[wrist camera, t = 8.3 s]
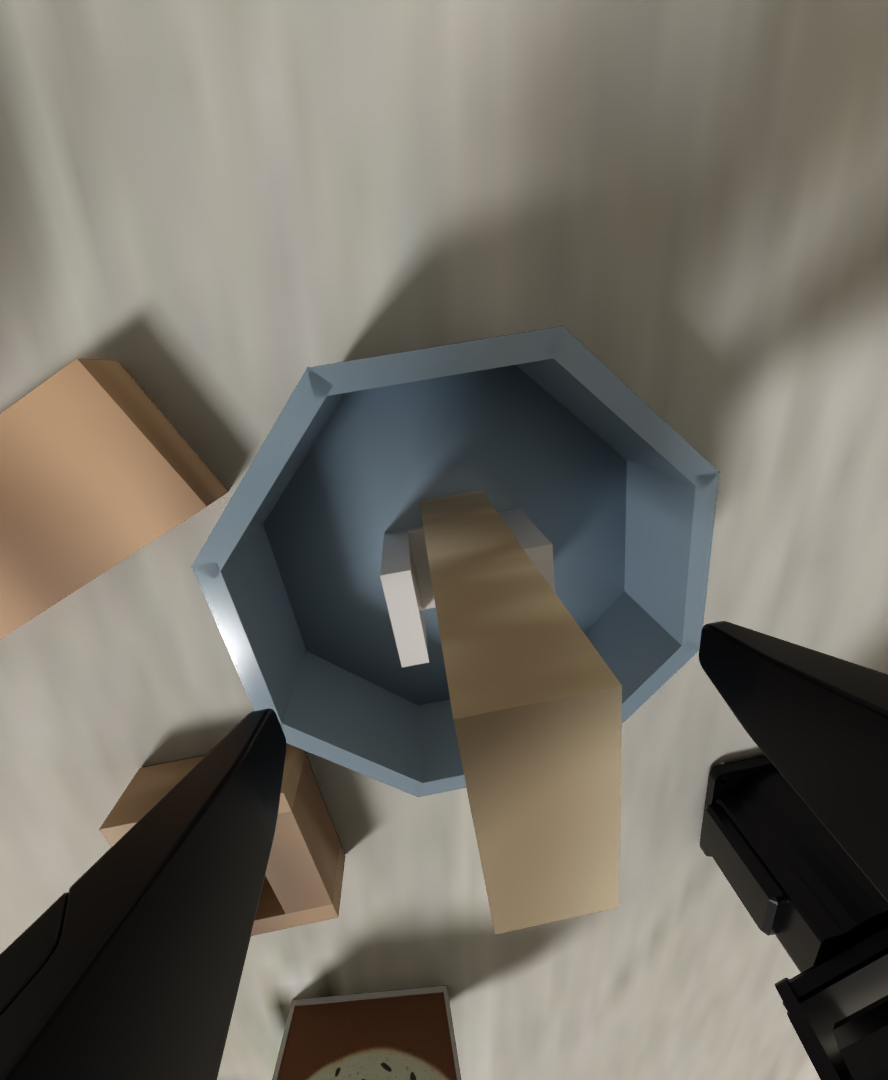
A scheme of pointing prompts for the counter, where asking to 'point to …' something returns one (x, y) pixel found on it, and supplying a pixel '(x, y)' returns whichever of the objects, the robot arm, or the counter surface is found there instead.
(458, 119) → the counter surface
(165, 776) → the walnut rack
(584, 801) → the bar
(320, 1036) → the food container
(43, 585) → the tapered wooden plank
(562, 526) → the blue octagonal bowl
